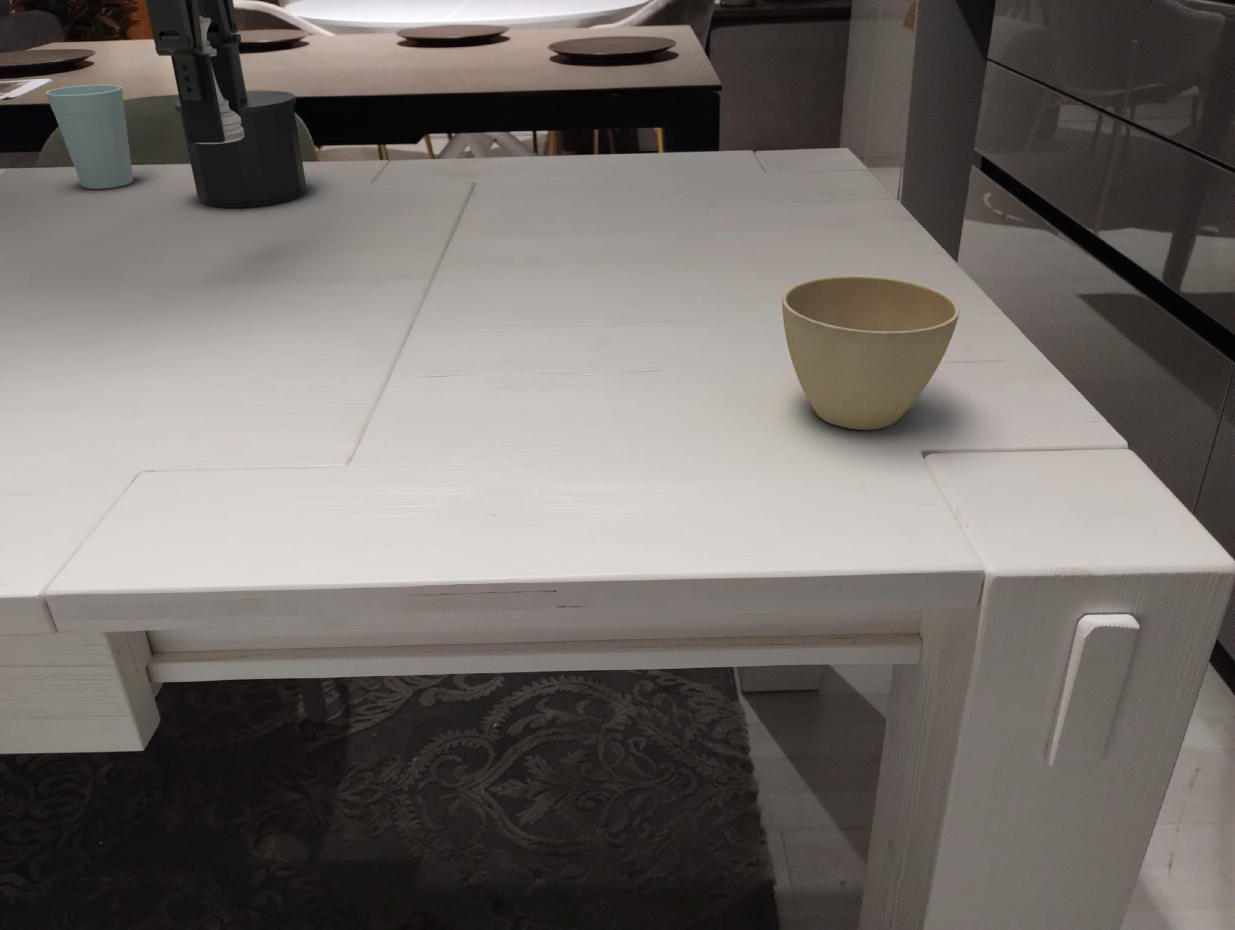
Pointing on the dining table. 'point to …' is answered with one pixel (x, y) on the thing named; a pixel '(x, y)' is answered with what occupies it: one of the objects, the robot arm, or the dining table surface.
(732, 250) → the dining table surface
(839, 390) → the flower pot
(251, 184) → the pot
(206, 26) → the chess piece
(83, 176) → the cup
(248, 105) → the pot lid
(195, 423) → the dining table surface
